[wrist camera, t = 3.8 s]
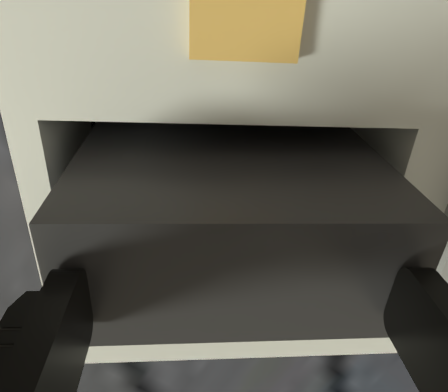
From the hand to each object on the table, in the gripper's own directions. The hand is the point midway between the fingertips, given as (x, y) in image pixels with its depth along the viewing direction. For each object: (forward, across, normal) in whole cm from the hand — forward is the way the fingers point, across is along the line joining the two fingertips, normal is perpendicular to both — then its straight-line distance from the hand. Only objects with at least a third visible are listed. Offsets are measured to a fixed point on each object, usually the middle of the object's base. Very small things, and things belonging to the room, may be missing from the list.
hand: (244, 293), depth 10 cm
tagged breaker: (+8, 0, 0) cm, 8 cm away
